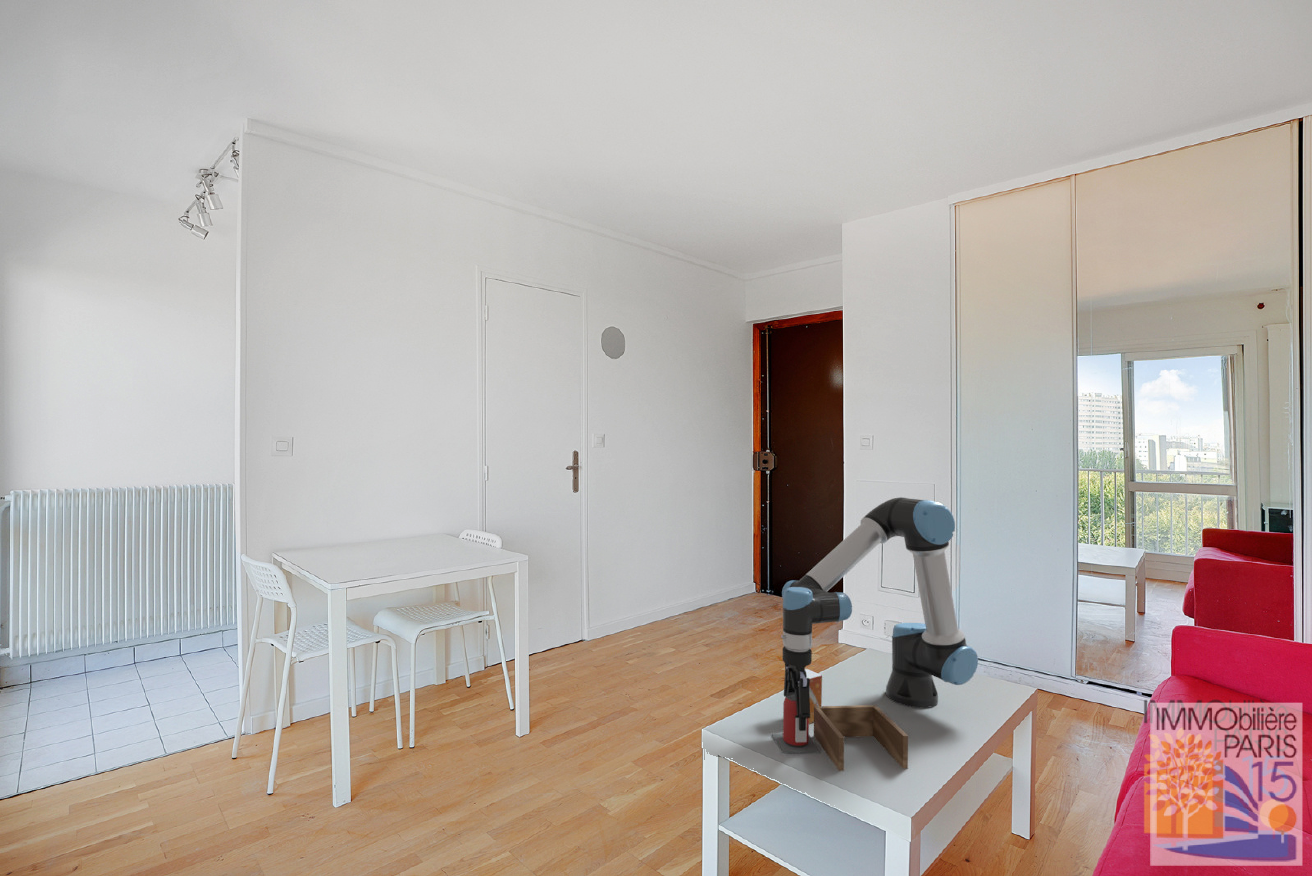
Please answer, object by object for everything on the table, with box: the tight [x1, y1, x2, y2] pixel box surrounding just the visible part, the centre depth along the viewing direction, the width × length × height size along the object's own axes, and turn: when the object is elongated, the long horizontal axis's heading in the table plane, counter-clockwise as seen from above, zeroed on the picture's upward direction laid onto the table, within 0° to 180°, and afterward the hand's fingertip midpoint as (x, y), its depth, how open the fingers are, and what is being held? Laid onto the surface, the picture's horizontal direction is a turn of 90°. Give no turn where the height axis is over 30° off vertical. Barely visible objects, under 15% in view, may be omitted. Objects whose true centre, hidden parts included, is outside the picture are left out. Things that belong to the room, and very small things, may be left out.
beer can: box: [782, 692, 810, 746], centre depth 167 cm, size 7×7×12 cm
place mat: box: [771, 733, 822, 755], centre depth 167 cm, size 10×10×1 cm
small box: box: [798, 668, 823, 724], centre depth 182 cm, size 8×6×13 cm
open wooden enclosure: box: [813, 704, 909, 772], centre depth 163 cm, size 17×18×8 cm
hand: (796, 734), depth 167 cm, fingers open, 7 cm apart
